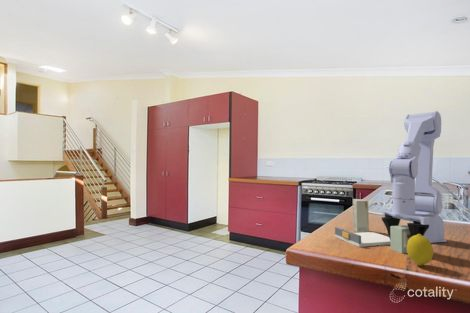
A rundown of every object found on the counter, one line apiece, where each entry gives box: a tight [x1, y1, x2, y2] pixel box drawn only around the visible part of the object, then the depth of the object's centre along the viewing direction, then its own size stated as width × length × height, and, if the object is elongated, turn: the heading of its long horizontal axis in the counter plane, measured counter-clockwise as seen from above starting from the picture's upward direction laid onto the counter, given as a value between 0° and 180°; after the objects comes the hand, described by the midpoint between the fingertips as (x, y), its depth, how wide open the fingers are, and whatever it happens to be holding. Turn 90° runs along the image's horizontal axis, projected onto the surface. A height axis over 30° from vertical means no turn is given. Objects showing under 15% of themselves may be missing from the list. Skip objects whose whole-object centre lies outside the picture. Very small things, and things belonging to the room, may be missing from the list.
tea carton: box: [390, 224, 411, 254], centre depth 80 cm, size 4×6×7 cm
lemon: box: [406, 234, 434, 267], centre depth 68 cm, size 6×6×8 cm
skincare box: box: [352, 198, 370, 233], centre depth 104 cm, size 6×4×12 cm
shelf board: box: [334, 226, 390, 248], centre depth 91 cm, size 16×12×3 cm
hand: (404, 244), depth 80 cm, fingers open, 7 cm apart
